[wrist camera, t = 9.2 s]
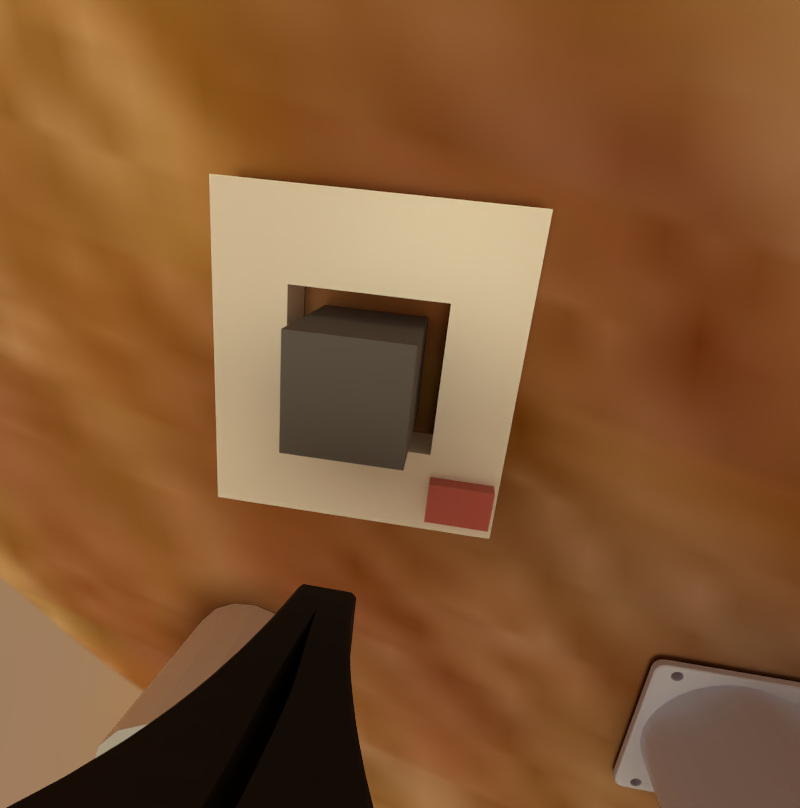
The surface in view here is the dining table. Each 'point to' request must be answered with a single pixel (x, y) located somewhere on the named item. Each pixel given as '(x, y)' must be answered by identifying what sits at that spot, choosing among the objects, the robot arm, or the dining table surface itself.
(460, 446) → the socket plate
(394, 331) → the plug
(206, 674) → the shot glass
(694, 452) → the dining table surface
